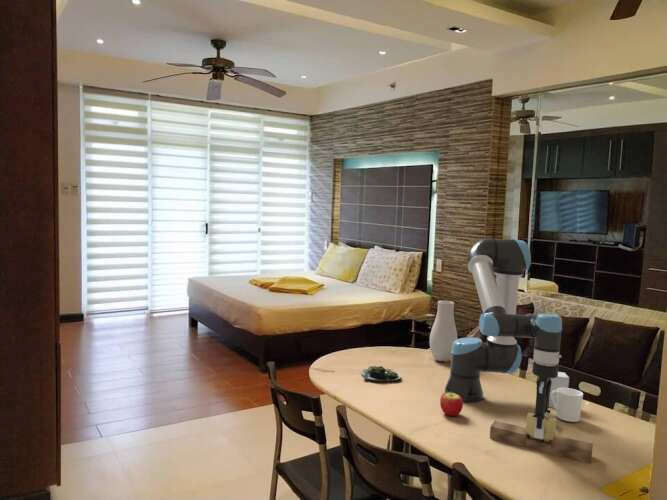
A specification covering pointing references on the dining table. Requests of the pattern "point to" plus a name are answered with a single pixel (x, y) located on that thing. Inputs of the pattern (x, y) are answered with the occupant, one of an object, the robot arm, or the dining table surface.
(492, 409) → the dining table surface
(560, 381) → the supplement box
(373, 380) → the salad plate
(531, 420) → the beige block
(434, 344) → the vase
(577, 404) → the mug
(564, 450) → the rail
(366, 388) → the dining table surface
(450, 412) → the apple
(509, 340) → the robot arm
